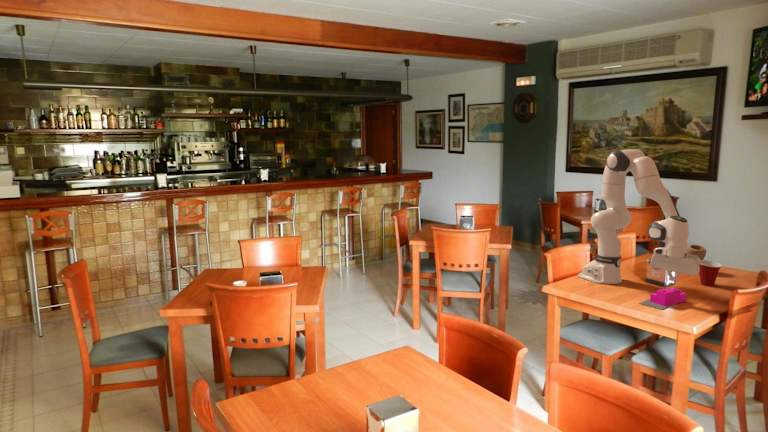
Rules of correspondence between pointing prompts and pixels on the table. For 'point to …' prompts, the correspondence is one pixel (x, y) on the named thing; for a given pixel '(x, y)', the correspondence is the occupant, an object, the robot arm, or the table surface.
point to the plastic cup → (708, 272)
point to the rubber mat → (654, 305)
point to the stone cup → (697, 251)
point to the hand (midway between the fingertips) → (673, 280)
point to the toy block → (668, 297)
